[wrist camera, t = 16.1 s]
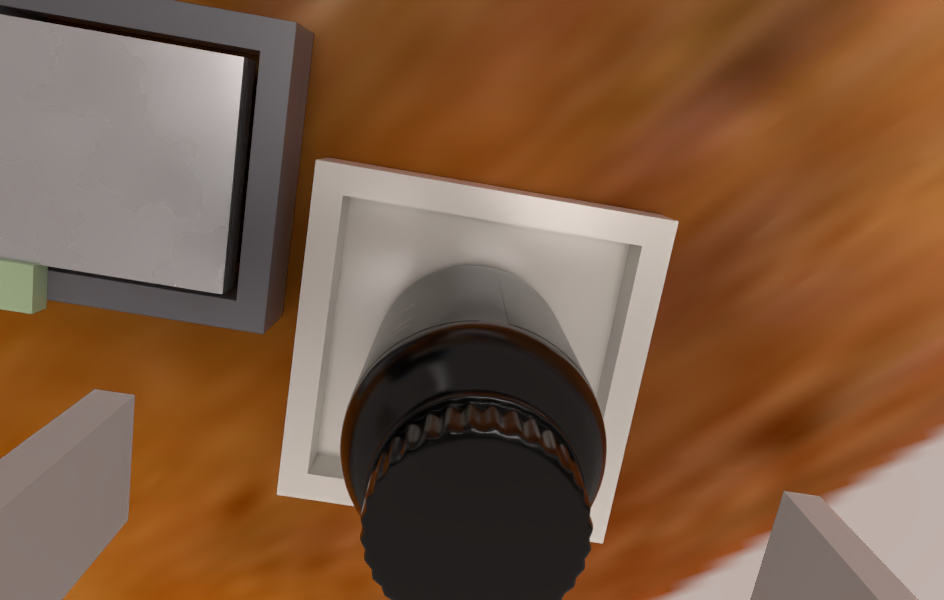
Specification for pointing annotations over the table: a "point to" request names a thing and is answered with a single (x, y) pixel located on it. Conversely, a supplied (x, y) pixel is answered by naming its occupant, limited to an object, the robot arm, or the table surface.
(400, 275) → the dish
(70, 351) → the table surface
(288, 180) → the grey square framed panel
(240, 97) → the grey square tile
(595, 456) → the supplement bottle
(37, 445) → the robot arm
